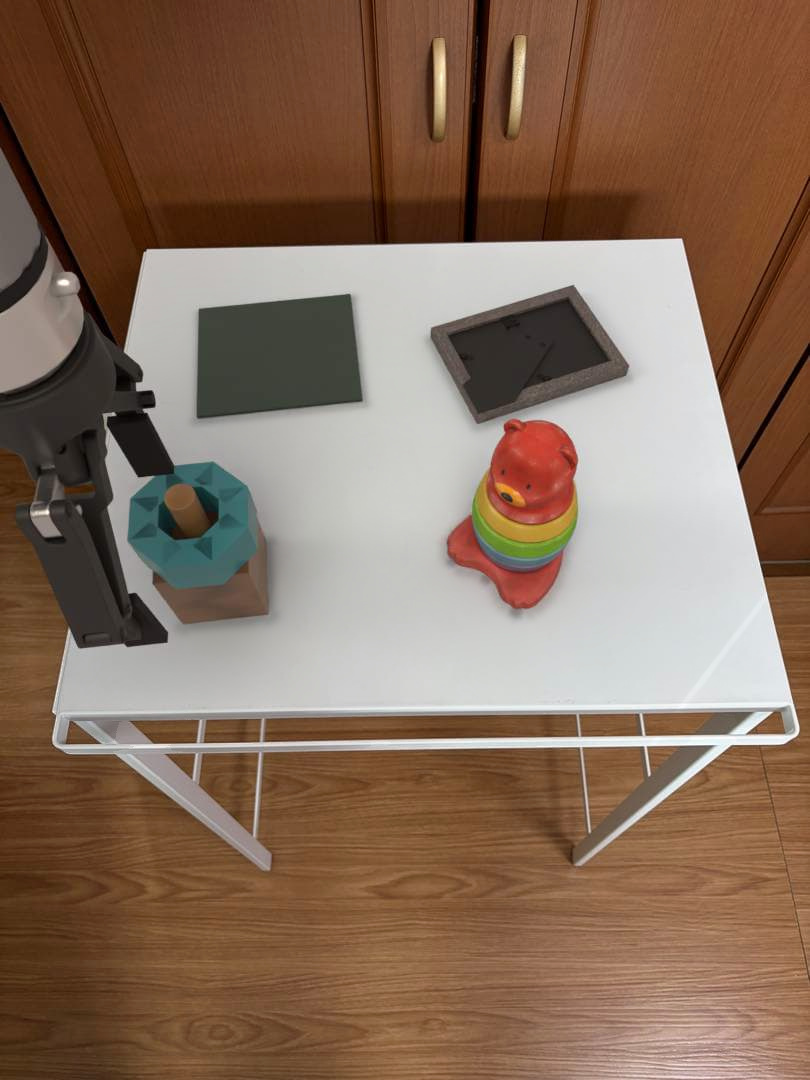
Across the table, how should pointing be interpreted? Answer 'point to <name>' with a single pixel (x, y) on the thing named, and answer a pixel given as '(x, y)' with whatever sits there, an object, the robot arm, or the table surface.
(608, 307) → the table surface
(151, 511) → the ring
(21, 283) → the robot arm
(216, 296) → the table surface
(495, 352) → the picture frame
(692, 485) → the table surface
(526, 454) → the stacking bear
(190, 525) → the ring stand
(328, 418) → the table surface
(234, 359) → the mat
